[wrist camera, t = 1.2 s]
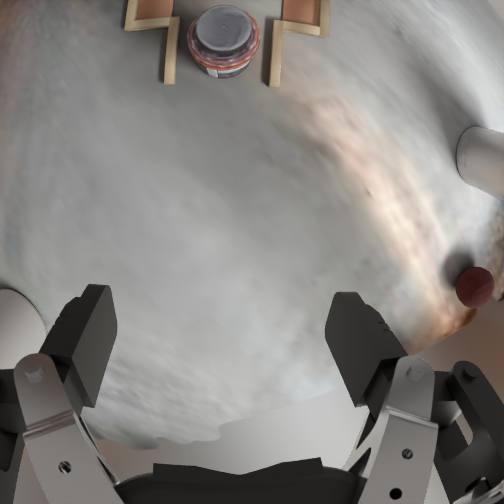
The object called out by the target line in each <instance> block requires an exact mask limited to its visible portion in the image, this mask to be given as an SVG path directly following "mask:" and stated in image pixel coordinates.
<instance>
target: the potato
mask: <svg viewBox="0 0 504 504" xmlns="http://www.w3.org/2000/svg"><path fill="white" fill-rule="evenodd" d="M493 289H494V280H493V277H492V275H491V273H490V272H489V271H487V270H486V269H484V268H482V267H471V268H469V269H467V270H465V271H464V272H463V273H462V274H461V275H460V277H459V278H458V280H457V283H456V294H457V296H458V298H459V300H460V301H461V302H462V304H464V305H465V306H467V307H469V308H477V307H481V306H483V305H484V304H485V303H486V302H487V301H488V300H489V299H490V297H491V294H492V292H493Z"/></svg>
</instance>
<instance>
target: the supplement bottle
mask: <svg viewBox="0 0 504 504" xmlns="http://www.w3.org/2000/svg"><path fill="white" fill-rule="evenodd" d="M187 44H188V47H189V50H190V52H191V54H192V56H193V57H194V59H195V61H196V63H197V65H198V66H199V67H200V69H201V70H202V71H203V72H205V73H206V74H208V75H210V76H212V77H215V78H230V77H234V76H236V75H238V74H240V73H241V72H242V71H244V70H245V69H246V68H247V66H248V65H249V64H250V62H251V60H252V58H253V57H254V55H255V53H256V51H257V49H258V47H259V44H260V29H259V26H258V24H257V22H256V21H255V19H254V18H253V17H252V16H251V15H250V14H248V13H247V12H246V11H244V10H241V9H239V8H237V7H234V6H231V5H220V6H215V7H212V8H210V9H208V10H206V11H204V12H203V13H201V14H200V15H198V16H197V17H196V18H195V20H194V21H193V22H192V23H191V25H190V27H189V30H188V34H187Z"/></svg>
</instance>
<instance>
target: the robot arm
mask: <svg viewBox="0 0 504 504" xmlns="http://www.w3.org/2000/svg"><path fill="white" fill-rule="evenodd" d="M456 157H457V167H458V170H459V173H460V175H461V177H462V179H463V180H464V181H465V182H466V183H468V184H469V185H471V186H474V187H476V188H478V189H480V190H482V191H484V192H486V193H488V194H490V195H492V196H494V197H496V198H498V199H500V200H502V201H504V133H501V132H497V131H494V130H489V129H485V128H481V127H470V128H469V129H467V130H466V131H465V132H464V133H463V135H462V136H461V138H460V141H459V143H458V148H457V156H456ZM116 335H117V319H116V314H115V309H114V303H113V298H112V292H111V288H110V286H109V285H97V284H89V285H88V286H87V287H86V289H85V290H84V292H83V294H82V295H81V297H75V298H74V299H72V300H71V301H70V302H68V303H67V304H66V305H65V306H64V308H63V310H62V311H61V313H60V316H59V317H58V318H57V320H56V321H55V325H53V327H52V328H51V330H50V332H49V334H48V335H47V337H46V339H45V341H44V343H43V344H42V346H41V348H40V350H39V352H38V353H33V354H29V355H27V356H25V357H23V358H22V359H21V360H20V361H19V362H18V363H17V364H16V366H15V368H14V369H0V504H13V500H14V493H15V488H16V482H17V477H18V472H19V467H20V462H21V458H22V454H23V449H24V446H25V445H26V448H27V451H28V454H29V457H30V460H31V462H32V465H33V468H34V470H35V473H36V475H37V477H38V480H39V482H40V484H41V487H42V489H43V491H44V493H45V495H46V498H47V500H48V502H49V504H423V503H424V499H425V495H426V492H427V488H428V483H429V479H430V475H431V470H432V464H433V462H434V464H435V467H436V469H437V471H438V474H439V476H440V479H441V482H442V484H443V486H444V489H445V492H446V494H447V497H448V500H449V503H450V504H504V404H503V403H502V401H501V400H500V398H499V397H498V395H497V393H496V392H495V390H494V389H493V387H492V386H491V384H490V383H489V382H488V380H487V379H486V377H485V376H484V374H483V373H482V372H481V370H480V369H479V368H478V367H477V366H476V365H474V364H473V363H471V362H468V361H458V362H457V363H455V365H454V366H453V368H452V369H451V371H450V372H443V371H442V372H441V371H434V370H433V369H432V367H431V366H430V364H428V363H427V362H426V361H425V360H423V359H421V358H419V357H415V356H408V354H407V353H406V351H405V350H404V348H403V347H402V345H401V344H400V342H399V341H398V339H397V338H396V336H395V335H394V334H393V332H392V331H390V328H389V326H388V325H387V323H385V321H384V319H383V318H382V316H381V315H380V314H379V312H378V311H376V310H375V309H374V308H372V307H371V306H370V305H366V304H365V303H364V301H363V300H362V298H361V297H360V296H359V294H358V293H357V292H337V293H335V295H334V297H333V301H332V304H331V308H330V311H329V315H328V318H327V321H326V325H325V339H326V342H327V344H328V346H329V348H330V351H331V353H332V355H333V358H334V360H335V362H336V364H337V367H338V369H339V371H340V373H341V376H342V378H343V380H344V383H345V385H346V387H347V390H348V392H349V394H350V397H351V399H352V401H353V404H354V406H355V407H361V406H366V405H367V406H368V408H369V411H368V413H367V414H366V416H365V419H364V422H363V425H362V427H361V430H360V432H359V435H358V438H357V440H356V443H355V445H354V447H353V450H352V452H351V454H350V456H349V458H348V460H347V462H346V463H345V465H344V466H343V468H342V470H341V469H337V468H332V467H324V466H323V465H322V461H321V458H320V457H318V458H312V459H306V460H299V461H291V462H282V463H279V464H276V465H273V466H270V467H267V468H263V469H260V470H257V471H254V472H250V473H247V474H242V475H236V474H230V473H225V472H219V471H215V470H210V469H206V468H202V467H197V466H185V465H184V466H183V465H169V464H157V463H154V464H153V473H146V474H142V475H138V476H135V477H132V478H129V479H127V480H125V481H123V482H120V481H119V479H118V478H117V476H116V475H115V474H114V472H113V471H112V469H111V468H110V466H109V465H108V463H107V462H106V460H105V459H104V457H103V455H102V454H101V452H100V450H99V448H98V447H97V445H96V443H95V441H94V439H93V438H92V436H91V434H90V432H89V430H88V428H87V426H86V424H85V422H84V420H83V418H82V416H81V412H82V408H83V406H85V407H91V408H95V404H96V400H97V397H98V393H99V390H100V386H101V383H102V379H103V376H104V373H105V370H106V366H107V363H108V360H109V357H110V354H111V351H112V348H113V345H114V342H115V339H116ZM461 413H463V415H464V417H465V419H466V420H467V422H468V424H469V426H470V428H471V430H472V432H473V439H472V442H471V444H470V445H469V446H468V444H467V442H466V440H465V438H464V436H463V434H462V432H461V430H460V428H459V426H458V424H457V423H456V418H457V417H458V416H459V415H460V414H461Z"/></svg>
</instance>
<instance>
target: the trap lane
mask: <svg viewBox="0 0 504 504" xmlns="http://www.w3.org/2000/svg"><path fill="white" fill-rule="evenodd" d="M173 3H174V0H129V1H128V8H127V14H126V21H125V29H124V30H126V31H127V32H128V31H136V30H144V29H154V28H167V27H169V29H168V38H167V49H166V61H165V75H164V84H165V85H171V84H175V73H176V60H177V48H178V37H179V27H180V17H172V10H173ZM329 5H330V0H284V2H283V17H282V21H281V20H274V21H273V30H272V44H271V58H270V72H269V86H268V87H274V88H278V87H279V84H280V70H281V56H282V42H283V31H286V32H293V33H300V34H306V35H312V36H317V37H322V38H326V37H328V33H329Z"/></svg>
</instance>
